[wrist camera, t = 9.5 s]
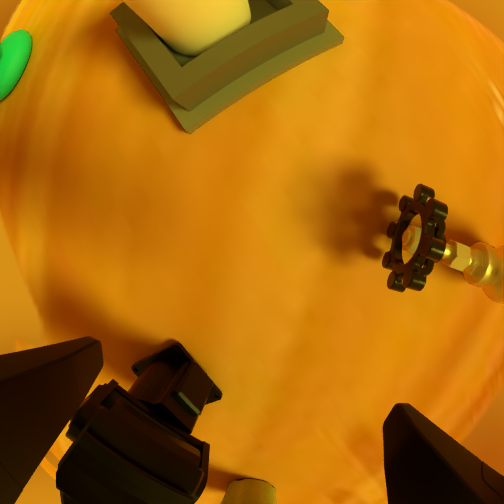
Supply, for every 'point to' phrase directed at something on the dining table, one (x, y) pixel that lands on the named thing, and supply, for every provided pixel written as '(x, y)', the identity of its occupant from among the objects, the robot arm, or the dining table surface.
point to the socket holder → (229, 56)
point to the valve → (438, 249)
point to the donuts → (13, 59)
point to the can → (193, 21)
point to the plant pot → (249, 492)
